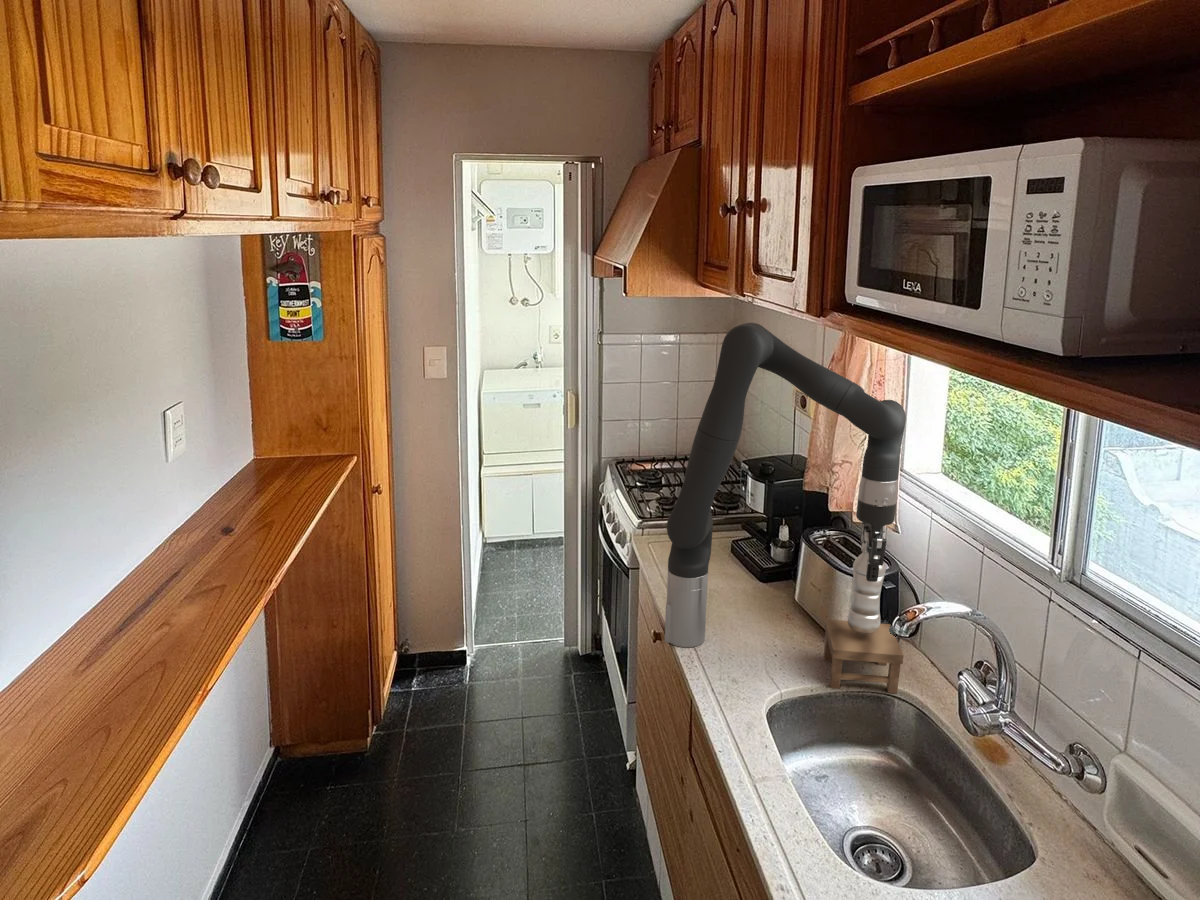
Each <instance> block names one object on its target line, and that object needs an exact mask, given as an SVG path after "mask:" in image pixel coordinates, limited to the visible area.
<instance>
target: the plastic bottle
mask: <svg viewBox="0 0 1200 900" xmlns="http://www.w3.org/2000/svg"><path fill="white" fill-rule="evenodd" d="M861 546H862V545H861ZM869 548H870V549H871V547H869ZM861 552H862V553H860V554H859V555H858V556H857V557H856V558H855V560H853V564H852V573H853V574H852V575H853V577H852V578H853V587H852V588H853V593H852V599H851V605H850V608H849V610H848V615H847V621H848V625H849V626H850V628H851V629H852V630H853V631H855V632H857V633H861V634H873V633H875V632H876V631H877V630H878V629H879V626H880V623H881V612H880V606H881V605H880V603H881V602H880V601H881V600H880V598H881V592H882V587H883V583H884V580H885V575H886V569H887V568H886V563H885V562H884V561H883V566H880V565H879V573H878V580H877V581H876V582H872V581H867V579H866V574H867V565H868V562H867V560H868V553H866V551H865V541H863V546H862V548H861ZM874 559H878V555H875V556H874ZM881 624H882V623H881Z"/></svg>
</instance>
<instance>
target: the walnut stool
mask: <svg viewBox="0 0 1200 900" xmlns="http://www.w3.org/2000/svg"><path fill="white" fill-rule="evenodd" d="M824 621H825V622H824V630H825V635H824V636H825V637H824V638H825V639H824V648H823V660H824V661H828V662H831V665H830V667H831V668H830V676H829V677H830V678H829V685H830V688H831V689H840V688H841V680H846V681H856V682H871V683H883V684H886V691H887V693H888V694H898V690H899V681H900V672H901V665H903V664H904V653H903V651H902V649H901V648H902V647H900V644H899V641H898V639H897V636H896V635H895V636H896V637H895V636H893V635H892V634H890V632H889V628H890V626H891V627H892V625H891V623H880V626H879V629H878V630H877V631H876V632H875V633H873V634H861V633H857V632H855V631H853V630H852V629H851V628H850V626H849V625H848V620H839V619H827V618H826V619H825V620H824ZM844 660H845V661H856V662H857V661H859V662H869V663H877V665H878V666H887V665H888V672H887V675H886V676H885V675H875V674H874V675H873V674H863V673H850V672H842V670H843V661H844Z"/></svg>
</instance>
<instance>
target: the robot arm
mask: <svg viewBox="0 0 1200 900" xmlns="http://www.w3.org/2000/svg"><path fill="white" fill-rule="evenodd" d="M720 347H721V348H720V353H719V357H718V363H717V368H716V373H715V378H714V380H713V381H714V382H713V385H712V387H711V391H710V393H709V396H708V398H707V401H706V403H705V406H704V408H703V411H702V415H701V418H700V419H699V420H700V421H699V422H698V425H697V430H696V432H695V435H694V439H693V442H692V446H691V450H690V453H689V457H688V460H687V466H686V471H685V474H684V475H685V476H684V480H683V484H682V486H681V489H680V492H679V494H678V497H677V500H676V502H675V504H674V506H673V509H672V510H671V512H670V515H669V516H668V519H667V522H666V533H667V536H668V538H669V541H670V542H671V546H670V551H669V556H668V559H667V583H666V584H667V585H666V586H667V587H666V589H667V590H666V601H665V616H664V617H665V619H664V621H665V622H664V623H665V624H664V643H668V644H671V645H673V646H675V647H676V646H677V647H680V648H681V647H682V648H694V647H698V646H700V645H702V644H703V643H704V642H705V639H706V625H707V624H706V620H707V603H708V602H707V601H708V600H707V599H708V581H709V579H708V578H709V567H710V566H709V565H710V560H711V555H712V545H713V544H712V543H713V542H712V541H713V528H714V527H713V526H714V522H713V521H714V518H713V514H712V511H711V509H712V506H713V502H714V500H715V499H714V498H715V496H716V493H717V492H718V489H719V488H720V486H721V483H722V481H723V480H724V478H725V476H726V474H727V472H728V470H729V467H730V465H731V463H732V461H733V458H734V455H735V453H736V450H737V447H738V444H739V442H740V438H741V434H742V432H743V426H744V419H745V418H744V417H745V406H746V399H747V395H748V391H749V388H750V386H751V383H752V381H753V378H754V376H755V374H756V372H757V370H758V369H759V368H760V369H763V370H766V371H768V372H771V373H773V374H775V375H777V376H779V377H780V378H782V379H784V380H786V381H787V382H788V383H790V384H791V385H793V386H794V387H795V388H797V390H799V391H800V392H801V393H803V394H804V395H805V396H807V397H808V398H809V399H811V400H813V401H814V402H816V403H817V404H819V405H821V406H823V407H824V408H826V409H828V410H830V411H832V412H833V413H835V414H837V415H839V416H841V417H844V418H845V419H846V420H847V421H848V422H850V423H852V425H854V426H855V427H857V428H858V429H859V430H861V431H862V432H863V433H864V434H867V435H868V437H867V446H866V450H865V451H864V455H863V460H862V469H861V476H860V482H859V485H858V486H859V487H858V495H857V505H856V515H855V516H856V519H857V520H858V521H859V522H861V532H860V542H859V543H860V546H861V547H860V548H861V549H862V546H863V541H865V551H866V553H868V560H867V562H868V565H867V574H866V579H867V581H872V582H876V581H877V580H878V573H879V565H880V566H883V562H884V561H885V560H884V558H885V552H886V545H887V539H886V531H884V527H885V526H889V525H892V524H893V523H894V522H895V518H896V510H897V501H898V492H899V473H900V462H901V461H900V460H901V459H900V457H901V454H900V453H901V448H902V443H903V439H904V433H905V427H906V420H907V417H906V416H907V415H906V411H905V408H904V407H903V405H901V404H900V403H899V402H898V401H895V400H892V399H884V400H878V399H876V398H875V397H874V396H872V395H870V394H868V393H866V392H865V390H864V388H863V387H862V386H861V385H859V384H858V383H857V382H854V381H852V380H851V379H848V378H846V377H845V376H843V375H841V374H839V373H837V372H835V371H833V370H832V369H830V368H827V367H825V366H823V365H821V364H819V363H818V362H816V361H814V360H812V359H811V358H808V357H806V356H805V355H803V354H802V353H800V352H798V351H797V350H795V349H794V348H792V347H791V346H790V345H787V344H786V343H785V342H783V341H782V340H781V339H780V338H778V337H777V336H776V335H775V334H773V333H772V332H771V331H769V330H768V329H767V328H766V327H764V326H763V325H762V324H759V323H755V322H747V323H742V324H738V325H736V326H734V327H733V328H731V329H730V330H729V331H728V332H727V333H726V335H725V336H724V338H723V340H722V344H721V346H720ZM869 547H871V549H870V548H869ZM875 555H878V559H874V556H875Z"/></svg>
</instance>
